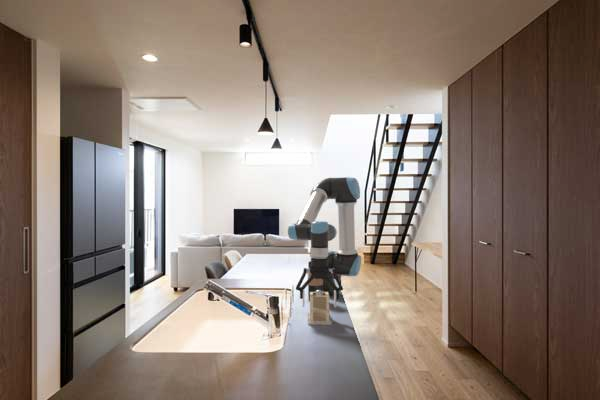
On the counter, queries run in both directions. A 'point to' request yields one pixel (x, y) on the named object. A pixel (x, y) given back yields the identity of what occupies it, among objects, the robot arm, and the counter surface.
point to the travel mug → (314, 283)
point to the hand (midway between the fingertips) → (319, 306)
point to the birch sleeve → (319, 306)
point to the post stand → (319, 322)
